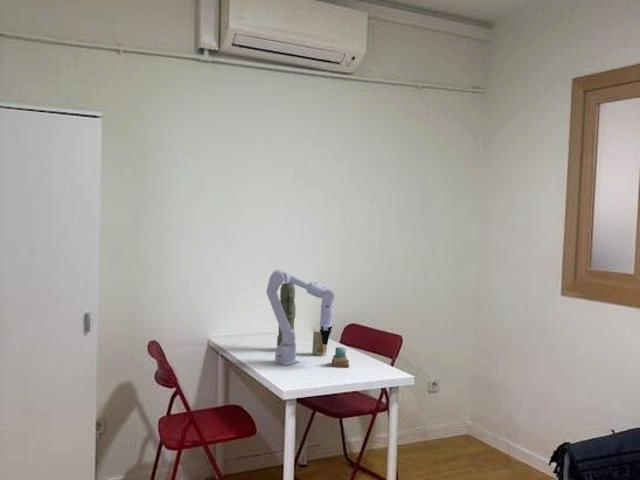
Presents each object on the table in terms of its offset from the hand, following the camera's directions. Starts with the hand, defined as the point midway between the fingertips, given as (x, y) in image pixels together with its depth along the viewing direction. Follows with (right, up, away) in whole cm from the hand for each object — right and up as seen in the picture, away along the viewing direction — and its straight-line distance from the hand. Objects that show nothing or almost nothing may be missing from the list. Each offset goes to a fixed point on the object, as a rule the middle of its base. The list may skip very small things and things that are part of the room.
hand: (325, 342), depth 272 cm
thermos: (-21, -9, +24) cm, 33 cm away
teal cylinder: (+7, -6, -2) cm, 10 cm away
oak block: (+7, -9, -2) cm, 11 cm away
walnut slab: (+7, -11, -2) cm, 13 cm away
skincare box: (-3, -10, +18) cm, 20 cm away
